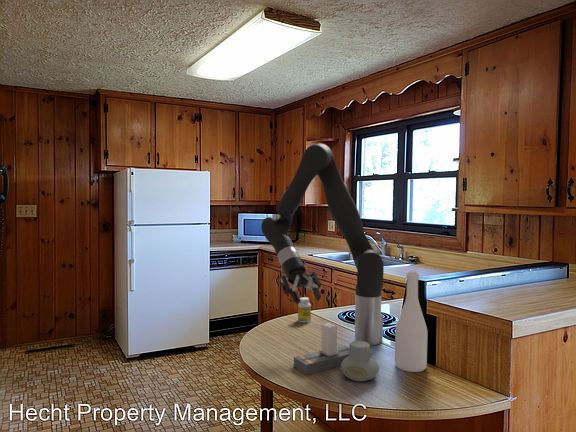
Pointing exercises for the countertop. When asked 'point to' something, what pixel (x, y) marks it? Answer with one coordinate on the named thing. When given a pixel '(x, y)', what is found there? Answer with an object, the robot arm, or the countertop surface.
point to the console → (320, 360)
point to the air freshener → (359, 363)
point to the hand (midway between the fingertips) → (309, 301)
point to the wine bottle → (411, 331)
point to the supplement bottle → (304, 310)
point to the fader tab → (329, 340)
